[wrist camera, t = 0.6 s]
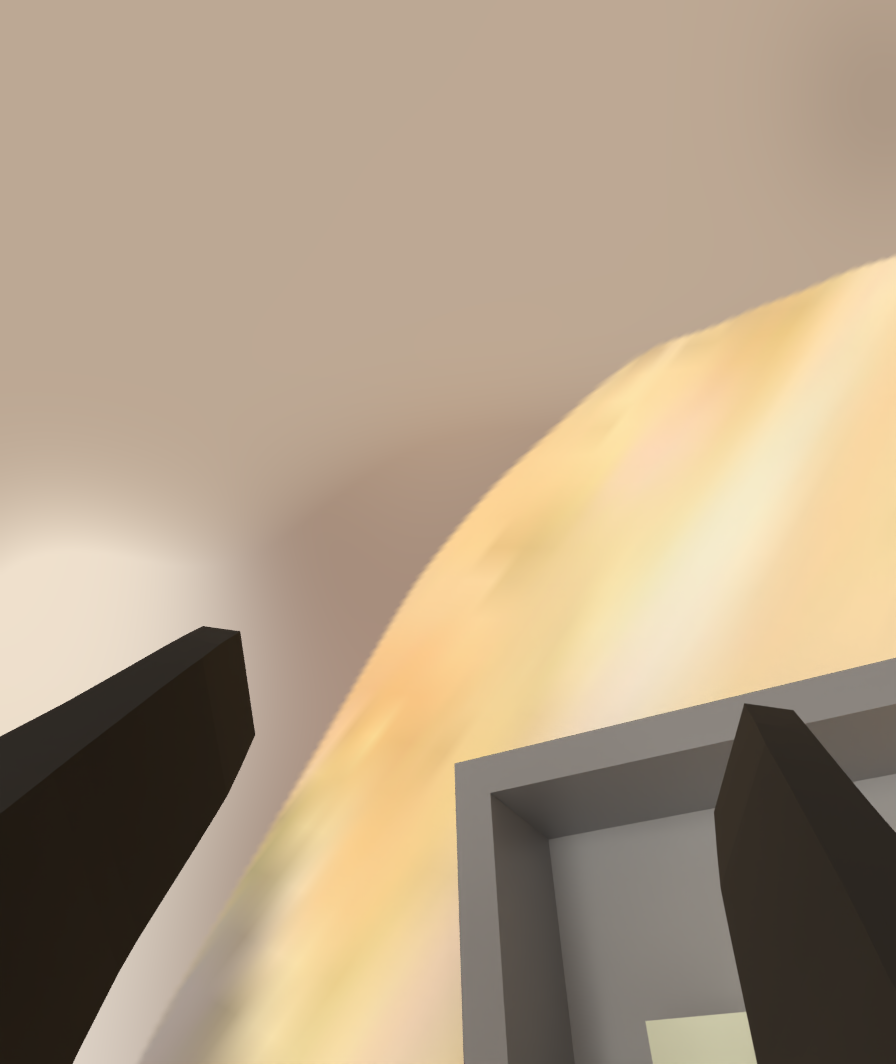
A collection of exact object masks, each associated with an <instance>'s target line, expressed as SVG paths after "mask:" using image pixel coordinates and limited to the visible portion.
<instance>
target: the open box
mask: <svg viewBox="0 0 896 1064" xmlns="http://www.w3.org/2000/svg"><path fill="white" fill-rule="evenodd" d="M744 703H747V704H754V705H761V706H768V707H775V708H782V709H789V710H794V711H795V713H796V714H797V715H798V716H799V717H800V719H801V720H802V721H803V722H804V723H805V725H806V726H807V727H808V728H809V729H810V731H811V732H812V733H813V734H814V736H815V737H816V738H817V739H818V740H819V742H820V743H821V744H822V745H823V747H824V748H825V749H826V750H827V751H828V753H829V754H830V755H831V756H832V758H833V759H834V760H835V761H836V762H837V764H838V765H839V766H840V767H841V769H842V770H843V771H844V772H845V773H846V775H847V776H848V777H849V778H850V779H851V781H852V782H853V783H854V784H855V785H856V787H857V788H858V789H859V790H860V791H861V793H862V794H863V795H864V796H865V797H866V799H867V800H868V801H869V802H870V803H871V804H872V806H873V807H874V808H875V809H876V810H877V812H878V813H879V814H880V815H881V816H882V817H883V819H884V820H885V821H886V822H887V823H888V824H889V825H890V827H891V828H892V829H893V830H894V831H895V832H896V658H893V659H889V660H885V661H881V662H877V663H872V664H868V665H864V666H860V667H856V668H852V669H847V670H843V671H839V672H835V673H831V674H827V675H822V676H818V677H814V678H810V679H806V680H801V681H797V682H793V683H789V684H785V685H781V686H776V687H772V688H768V689H764V690H760V691H756V692H751V693H747V694H743V695H739V696H735V697H731V698H726V699H722V700H718V701H714V702H710V703H706V704H701V705H697V706H693V707H689V708H685V709H680V710H676V711H672V712H668V713H664V714H660V715H655V716H651V717H647V718H643V719H639V720H635V721H630V722H626V723H622V724H618V725H614V726H610V727H605V728H601V729H597V730H593V731H589V732H585V733H580V734H576V735H572V736H568V737H564V738H559V739H555V740H551V741H547V742H543V743H539V744H534V745H530V746H526V747H522V748H518V749H514V750H509V751H505V752H501V753H497V754H493V755H489V756H484V757H480V758H476V759H472V760H468V761H464V762H459V763H455V794H456V827H457V859H458V891H459V923H460V955H461V987H462V1020H463V1052H464V1064H653V1062H652V1056H651V1050H650V1045H649V1039H648V1033H647V1028H646V1022H645V1021H651V1020H662V1019H673V1018H684V1017H695V1016H706V1015H716V1014H727V1013H738V1012H746V1009H745V1004H744V999H743V995H742V990H741V985H740V980H739V976H738V971H737V966H736V962H735V957H734V952H733V947H732V942H731V937H730V933H729V928H728V923H727V918H726V913H725V908H724V903H723V898H722V893H721V888H720V878H719V868H718V857H717V846H716V833H715V821H714V810H715V806H716V803H717V799H718V795H719V792H720V788H721V785H722V781H723V778H724V774H725V770H726V767H727V763H728V760H729V756H730V753H731V749H732V745H733V742H734V738H735V735H736V731H737V727H738V724H739V720H740V717H741V713H742V710H743V706H744Z"/></svg>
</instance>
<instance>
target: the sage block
mask: <svg viewBox="0 0 896 1064" xmlns="http://www.w3.org/2000/svg"><path fill="white" fill-rule="evenodd" d="M645 1022H646V1028H647V1033H648V1039H649V1045H650V1050H651V1056H652V1062H653V1064H757V1061H756V1056H755V1051H754V1047H753V1042H752V1037H751V1032H750V1028H749V1023H748V1018H747V1014H746V1012H738V1013H727V1014H716V1015H706V1016H695V1017H684V1018H673V1019H662V1020H651V1021H645Z"/></svg>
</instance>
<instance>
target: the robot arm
mask: <svg viewBox="0 0 896 1064" xmlns="http://www.w3.org/2000/svg"><path fill="white" fill-rule="evenodd" d="M254 736H255V730H254V724H253V717H252V710H251V703H250V696H249V689H248V683H247V676H246V669H245V662H244V655H243V648H242V641H241V634H240V631H233V630H226V629H219V628H211V627H205V626H203V627H201V628H198V629H196V630H194V631H192V632H190V633H188V634H186V635H185V636H183V637H181V638H179V639H177V640H175V641H173V642H172V643H170V644H168V645H166V646H164V647H163V648H161V649H159V650H157V651H156V652H154V653H152V654H150V655H149V656H147V657H145V658H144V659H142V660H140V661H138V662H136V663H135V664H133V665H131V666H129V667H128V668H126V669H124V670H122V671H121V672H119V673H117V674H116V675H113V676H112V677H110V678H108V679H106V680H105V681H103V682H101V683H99V684H98V685H96V686H94V687H93V688H90V689H89V690H87V691H85V692H83V693H82V694H80V695H78V696H76V697H75V698H73V699H71V700H69V701H67V702H66V703H64V704H62V705H60V706H58V707H56V708H54V709H52V710H50V711H48V712H47V713H45V714H43V715H41V716H39V717H37V718H35V719H33V720H31V721H29V722H27V723H25V724H24V725H22V726H20V727H18V728H16V729H14V730H12V731H10V732H8V733H6V734H4V735H2V736H1V737H0V1064H73V1061H74V1059H75V1057H76V1055H77V1053H78V1051H79V1049H80V1047H81V1045H82V1043H83V1041H84V1039H85V1037H86V1035H87V1033H88V1031H89V1029H90V1028H91V1026H92V1023H93V1022H94V1020H95V1018H96V1016H97V1014H98V1012H99V1010H100V1007H101V1006H102V1004H103V1002H104V1000H105V998H106V996H107V994H108V992H109V990H110V988H111V986H112V984H113V982H114V981H115V978H116V976H117V975H118V973H119V971H120V969H121V967H122V966H123V964H124V962H125V961H126V959H127V957H128V955H129V953H130V952H131V950H132V949H133V947H134V945H135V943H136V941H137V940H138V938H139V936H140V935H141V933H142V932H143V930H144V929H145V927H146V925H147V924H148V922H149V920H150V919H151V917H152V916H153V914H154V913H155V911H156V909H157V908H158V906H159V905H160V903H161V902H162V900H163V898H164V897H165V895H166V893H167V892H168V890H169V889H170V887H171V885H172V884H173V882H174V881H175V879H176V878H177V876H178V874H179V873H180V871H181V870H182V868H183V866H184V865H185V863H186V862H187V860H188V859H189V857H190V855H191V854H192V852H193V851H194V849H195V847H196V846H197V844H198V842H199V841H200V839H201V837H202V836H203V834H204V833H205V831H206V830H207V828H208V826H209V825H210V823H211V822H212V820H213V818H214V817H215V815H216V813H217V812H218V810H219V808H220V807H221V805H222V803H223V802H224V800H225V798H226V797H227V795H228V793H229V791H230V789H231V787H232V784H233V782H234V780H235V778H236V776H237V774H238V772H239V770H240V768H241V765H242V763H243V761H244V759H245V756H246V754H247V752H248V749H249V747H250V745H251V743H252V740H253V738H254ZM714 821H715V833H716V846H717V857H718V868H719V878H720V888H721V893H722V898H723V903H724V908H725V913H726V918H727V923H728V928H729V933H730V937H731V942H732V947H733V952H734V957H735V962H736V966H737V971H738V976H739V980H740V985H741V990H742V995H743V999H744V1004H745V1009H746V1014H747V1018H748V1023H749V1028H750V1032H751V1037H752V1042H753V1047H754V1051H755V1056H756V1061H757V1064H896V832H895V831H894V830H893V829H892V828H891V827H890V825H889V824H888V823H887V822H886V821H885V820H884V819H883V817H882V816H881V815H880V814H879V813H878V812H877V810H876V809H875V808H874V807H873V806H872V804H871V803H870V802H869V801H868V800H867V799H866V797H865V796H864V795H863V794H862V793H861V791H860V790H859V789H858V788H857V787H856V785H855V784H854V783H853V782H852V781H851V779H850V778H849V777H848V776H847V775H846V773H845V772H844V771H843V770H842V769H841V767H840V766H839V765H838V764H837V762H836V761H835V760H834V759H833V758H832V756H831V755H830V754H829V753H828V751H827V750H826V749H825V748H824V747H823V745H822V744H821V743H820V742H819V740H818V739H817V738H816V737H815V736H814V734H813V733H812V732H811V731H810V729H809V728H808V727H807V726H806V725H805V723H804V722H803V721H802V720H801V719H800V717H799V716H798V715H797V714H796V713H795V711H794V710H789V709H782V708H775V707H768V706H761V705H754V704H747V703H744V706H743V710H742V713H741V717H740V720H739V724H738V727H737V731H736V735H735V738H734V742H733V745H732V749H731V753H730V756H729V760H728V763H727V767H726V770H725V774H724V778H723V781H722V785H721V788H720V792H719V795H718V799H717V803H716V806H715V810H714Z"/></svg>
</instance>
